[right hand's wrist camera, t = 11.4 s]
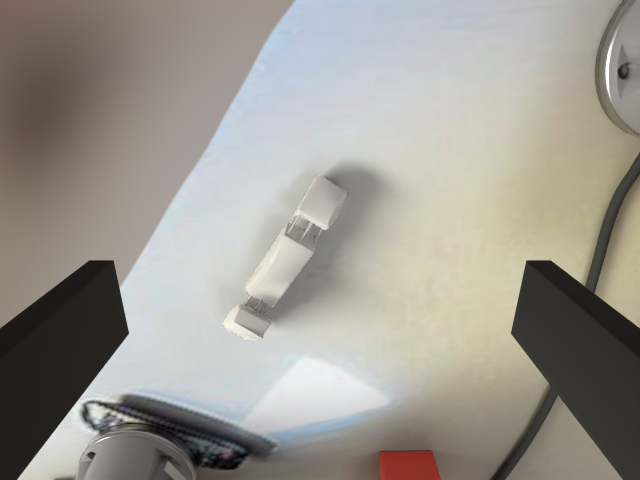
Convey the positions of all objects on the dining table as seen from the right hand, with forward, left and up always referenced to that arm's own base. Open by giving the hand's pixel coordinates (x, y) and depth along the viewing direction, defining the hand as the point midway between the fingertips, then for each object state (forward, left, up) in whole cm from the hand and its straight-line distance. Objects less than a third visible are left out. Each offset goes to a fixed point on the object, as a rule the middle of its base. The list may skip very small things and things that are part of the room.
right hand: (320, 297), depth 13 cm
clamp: (-11, -2, -28) cm, 30 cm away
